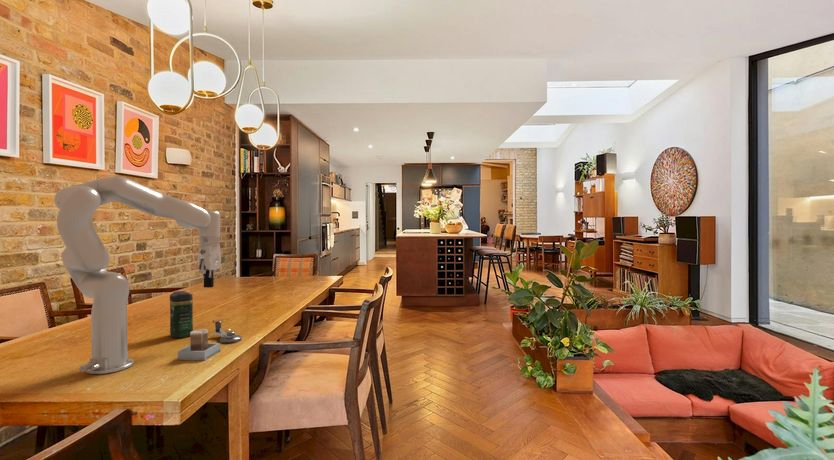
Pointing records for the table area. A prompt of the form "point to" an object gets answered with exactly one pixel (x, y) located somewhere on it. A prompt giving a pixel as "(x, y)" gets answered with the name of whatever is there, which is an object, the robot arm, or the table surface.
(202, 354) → the tray
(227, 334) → the crank
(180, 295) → the coffee jar
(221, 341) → the hub
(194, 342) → the block
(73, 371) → the table surface
